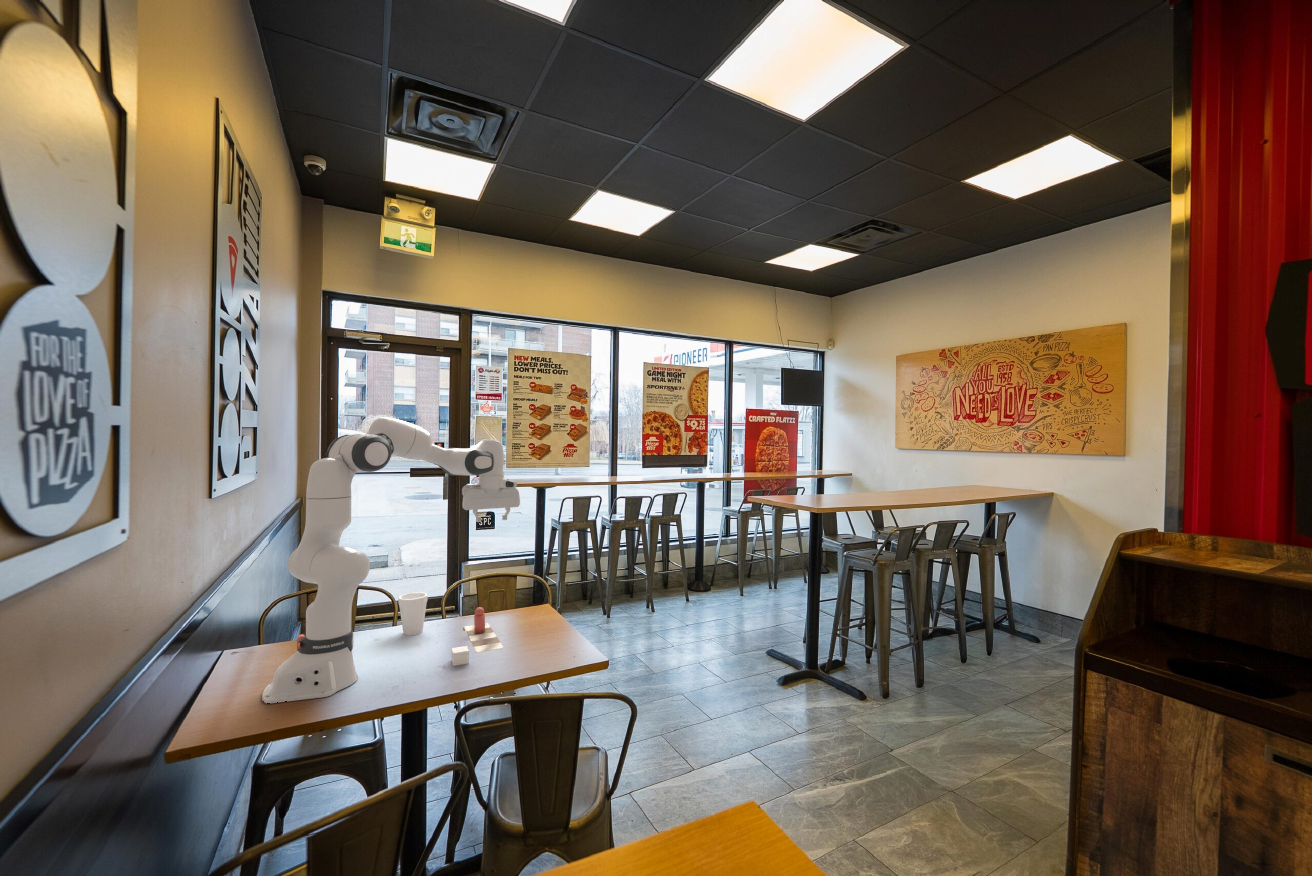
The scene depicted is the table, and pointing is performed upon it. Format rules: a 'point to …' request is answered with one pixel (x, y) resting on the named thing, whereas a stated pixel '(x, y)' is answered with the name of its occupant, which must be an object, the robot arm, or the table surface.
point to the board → (485, 639)
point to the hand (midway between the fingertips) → (491, 520)
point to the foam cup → (412, 612)
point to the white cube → (460, 655)
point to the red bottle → (479, 620)
